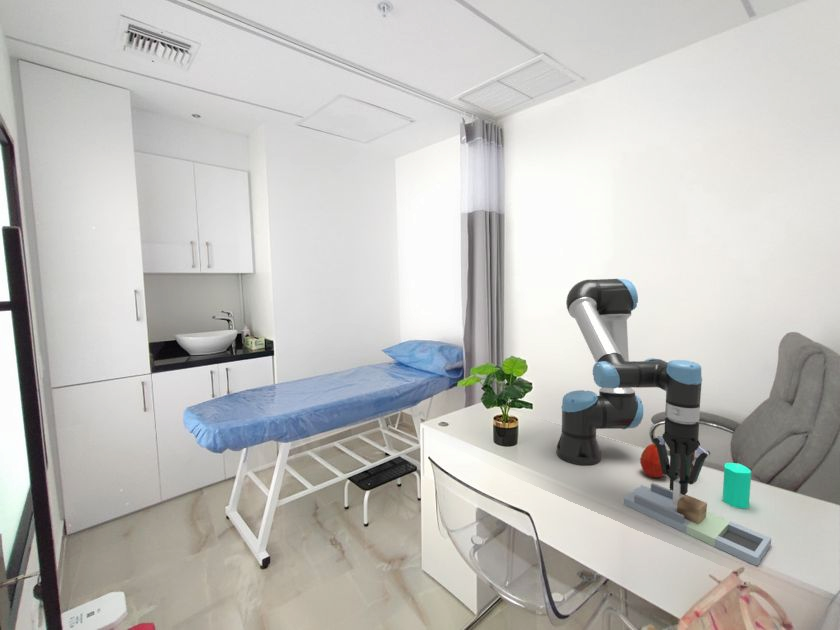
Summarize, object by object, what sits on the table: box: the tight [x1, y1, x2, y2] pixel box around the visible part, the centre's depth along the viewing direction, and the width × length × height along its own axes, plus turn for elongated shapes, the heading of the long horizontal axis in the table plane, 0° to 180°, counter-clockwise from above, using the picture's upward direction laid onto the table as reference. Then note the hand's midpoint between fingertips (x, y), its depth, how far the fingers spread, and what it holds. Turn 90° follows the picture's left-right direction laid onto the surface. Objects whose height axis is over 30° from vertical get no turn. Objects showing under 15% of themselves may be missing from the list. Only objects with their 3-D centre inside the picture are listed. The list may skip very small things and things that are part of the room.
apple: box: [639, 443, 670, 478], centre depth 127 cm, size 8×8×11 cm
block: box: [677, 494, 708, 525], centre depth 102 cm, size 5×5×4 cm
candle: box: [722, 462, 752, 510], centre depth 111 cm, size 6×6×12 cm
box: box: [677, 450, 696, 478], centre depth 125 cm, size 6×4×12 cm
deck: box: [622, 482, 772, 567], centre depth 103 cm, size 30×11×4 cm, turn 36°
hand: (677, 503), depth 105 cm, fingers closed
